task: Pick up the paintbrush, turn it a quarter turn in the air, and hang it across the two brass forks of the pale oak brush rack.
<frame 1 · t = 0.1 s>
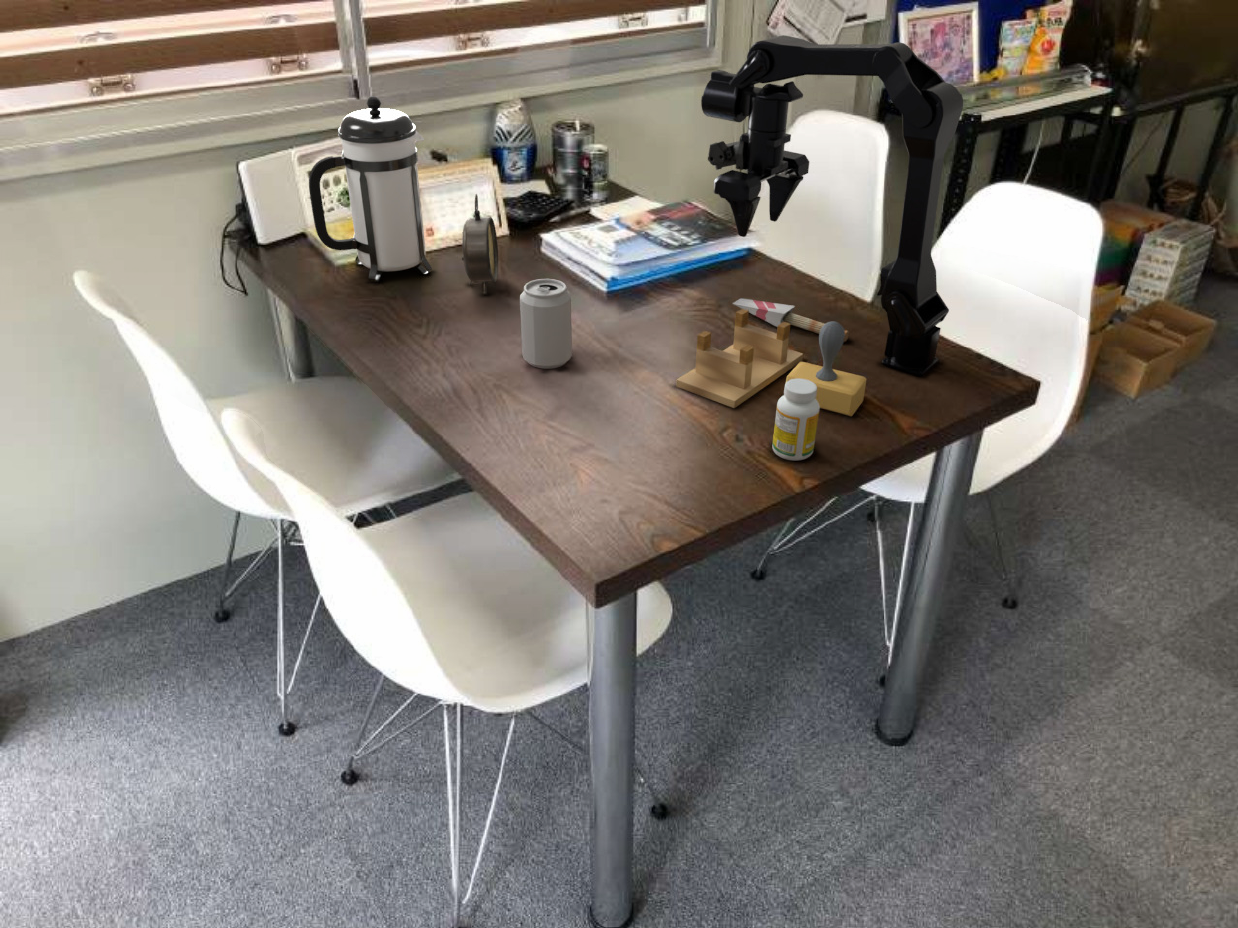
hand: (758, 228, 159), 15 cm above the table, tool pointing down, fingers open, 9 cm apart
brush rack: (740, 373, 149), on the table
supplement bottle: (792, 452, 131), on the table
paintbrush: (788, 327, 163), on the table
rubber stamp: (823, 401, 143), on the table
alarm clock: (482, 286, 176), on the table
can: (547, 361, 152), on the table
coffee press: (387, 271, 182), on the table
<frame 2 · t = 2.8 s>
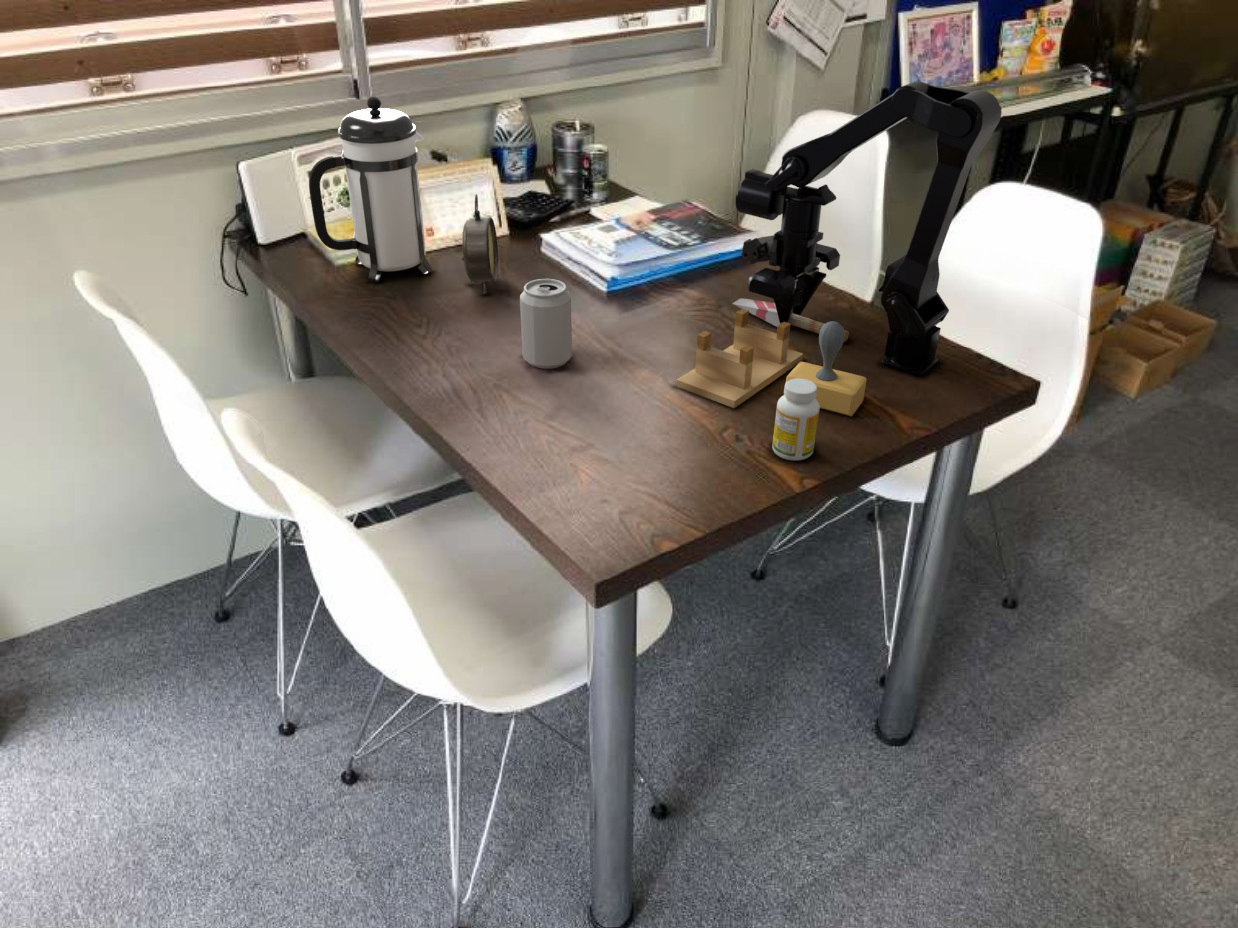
hand: (789, 320, 163), 1 cm above the table, tool pointing down, fingers closed on paintbrush, 4 cm apart
paintbrush: (788, 327, 163), on the table, touching gripper
everything else where it was.
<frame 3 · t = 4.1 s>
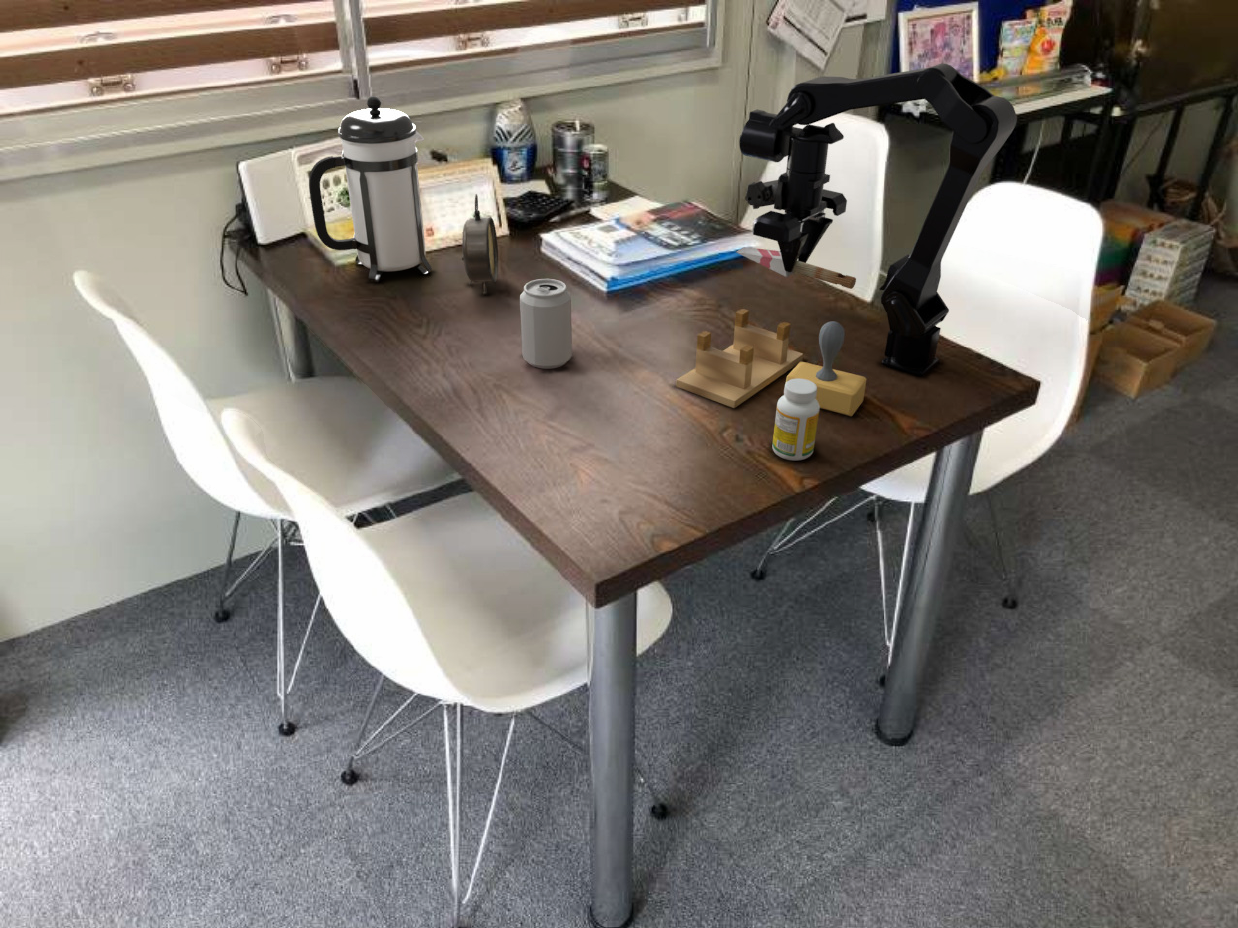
hand: (795, 267, 158), 10 cm above the table, tool pointing down, fingers closed on paintbrush, 4 cm apart
paintbrush: (793, 275, 159), point 9 cm above the table, touching gripper
everything else where it was.
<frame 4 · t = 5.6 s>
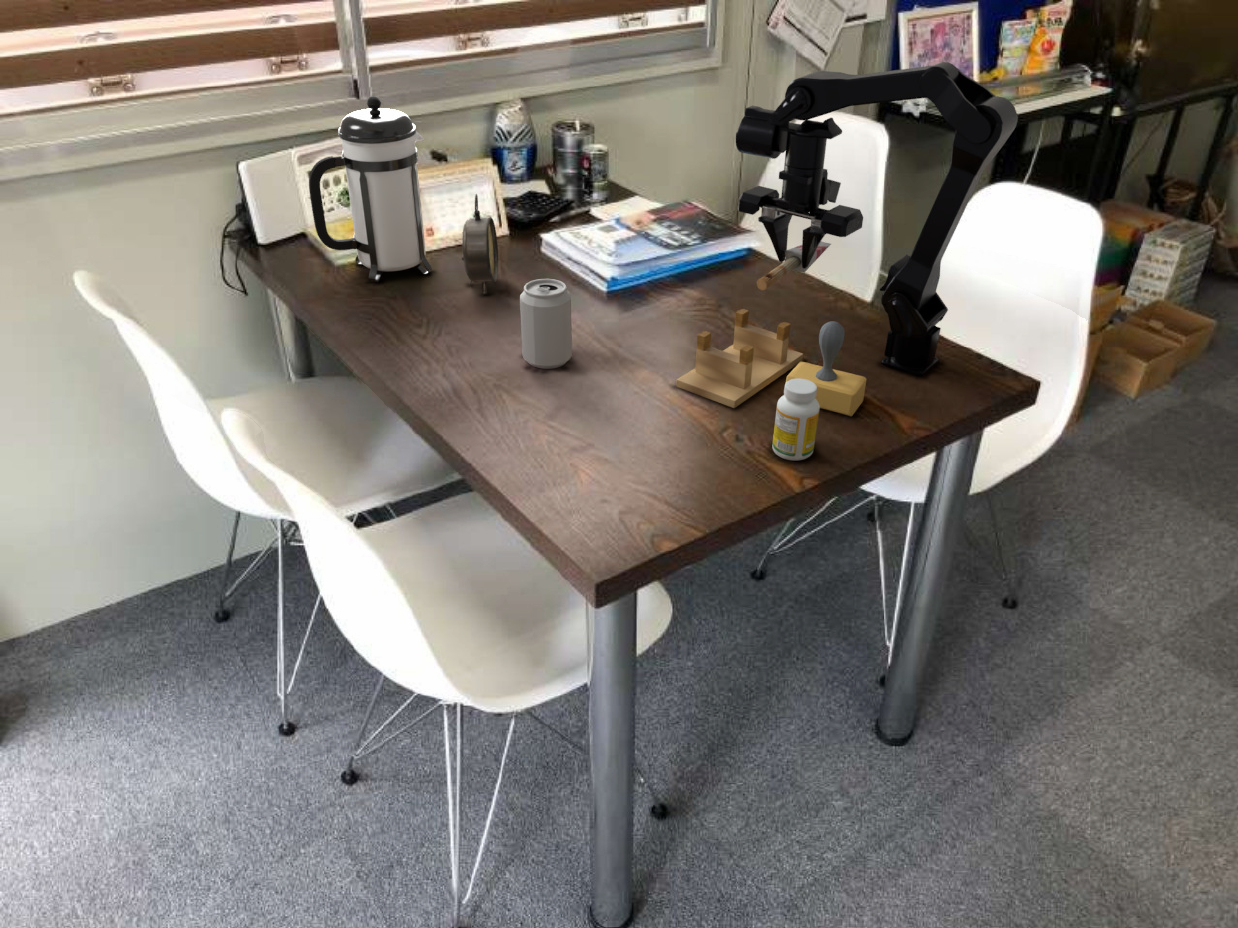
hand: (793, 264, 156), 11 cm above the table, tool pointing down, fingers closed on paintbrush, 4 cm apart
paintbrush: (792, 271, 157), point 10 cm above the table, touching gripper
everything else where it was.
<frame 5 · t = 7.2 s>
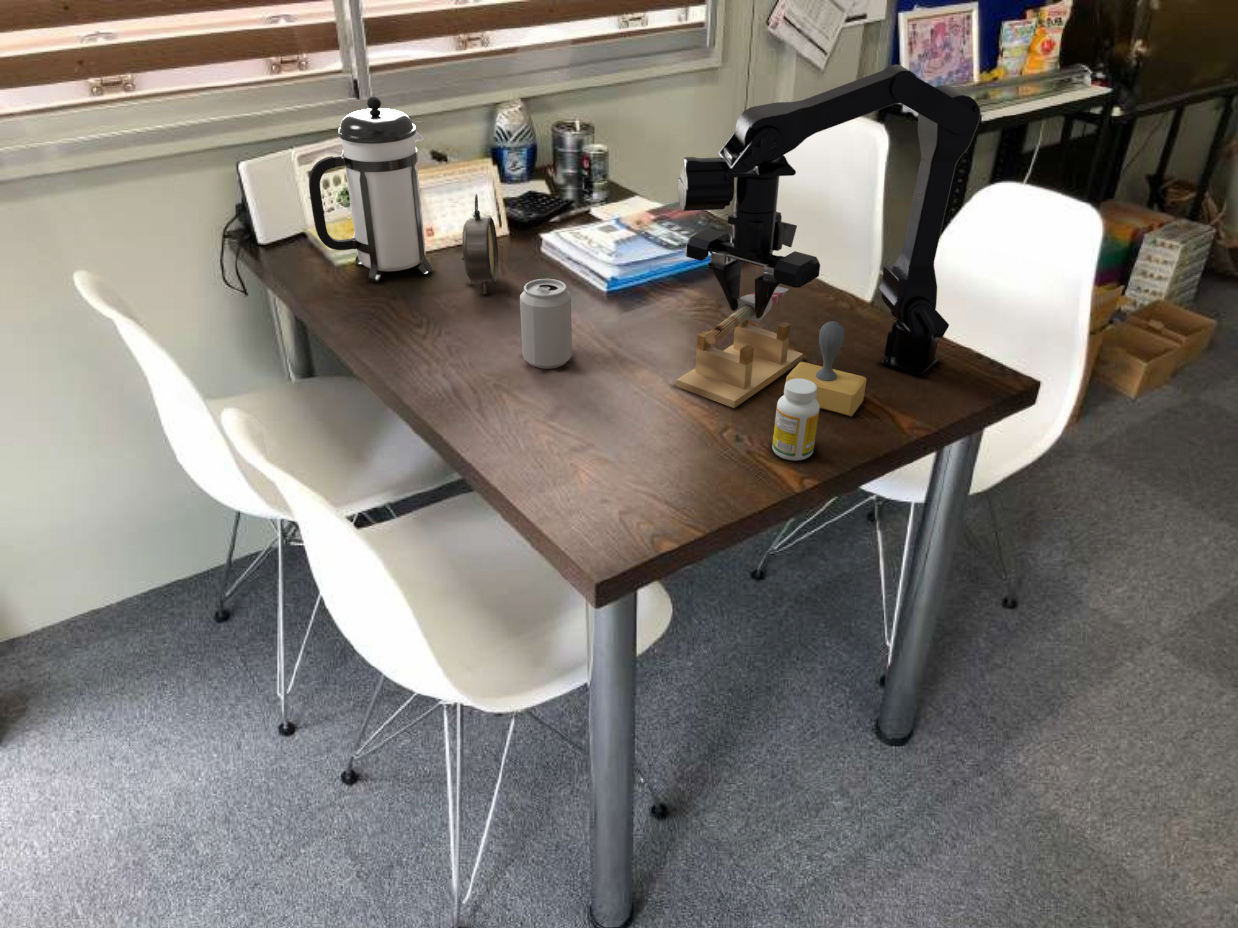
hand: (746, 313, 144), 10 cm above the table, tool pointing down, fingers closed on paintbrush, 4 cm apart
paintbrush: (746, 321, 145), point 8 cm above the table, touching gripper
everything else where it was.
when the fingers open (6 cm above the table, at t = 8.4 s): paintbrush stays where it is, resting on brush rack.
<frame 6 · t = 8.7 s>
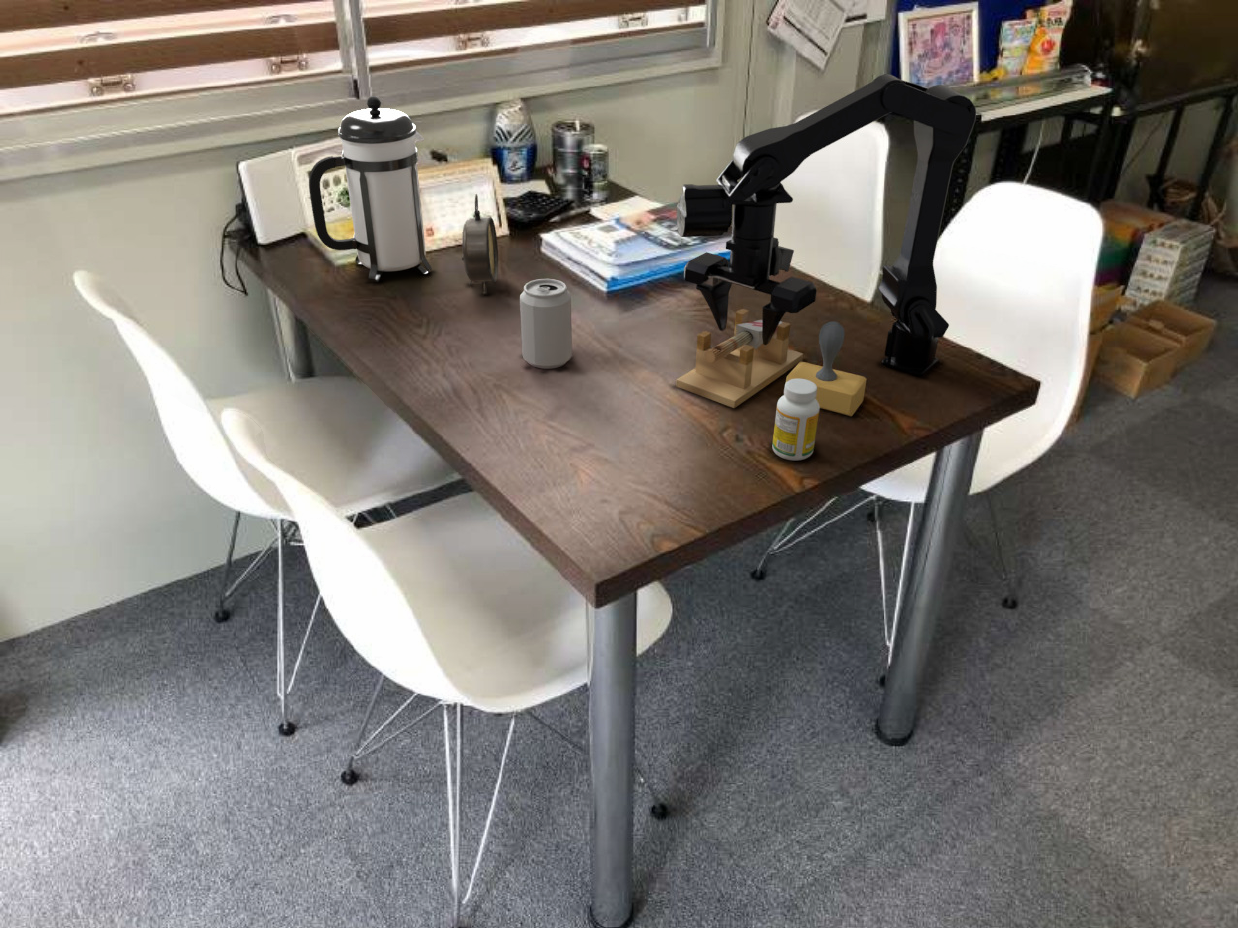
hand: (744, 337, 146), 6 cm above the table, tool pointing down, fingers open, 7 cm apart
paintbrush: (743, 347, 147), point 4 cm above the table, touching brush rack
everything else where it was.
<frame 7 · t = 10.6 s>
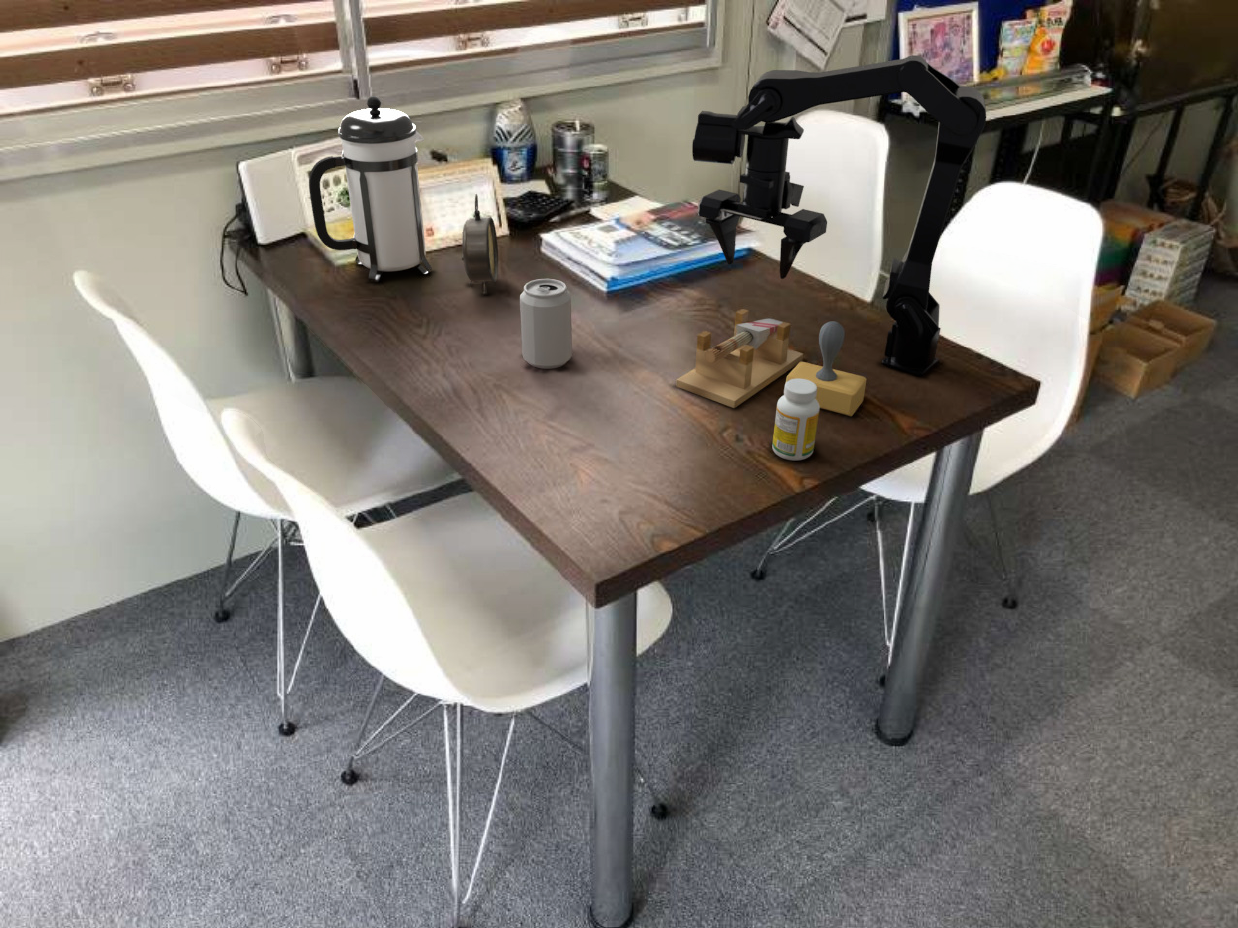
hand: (756, 270, 151), 12 cm above the table, tool pointing down, fingers open, 9 cm apart
nothing on the table moved.
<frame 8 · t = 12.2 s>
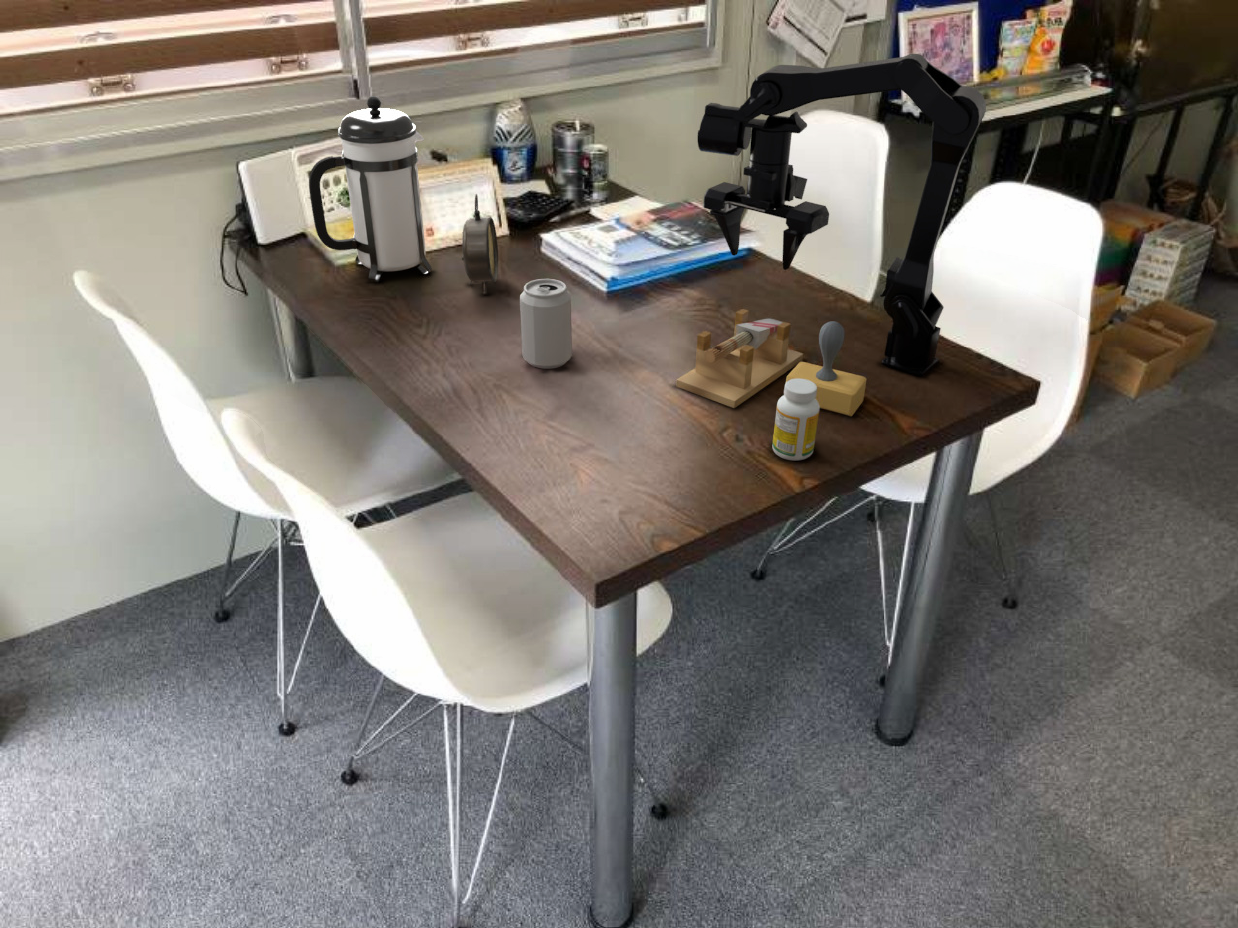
hand: (760, 261, 154), 12 cm above the table, tool pointing down, fingers open, 9 cm apart
nothing on the table moved.
at the end: paintbrush inside the target area on the brush rack (0.1 cm from its centre), point 4.2 cm above the brush rack's base; paintbrush touching brush rack; the gripper is holding nothing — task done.
